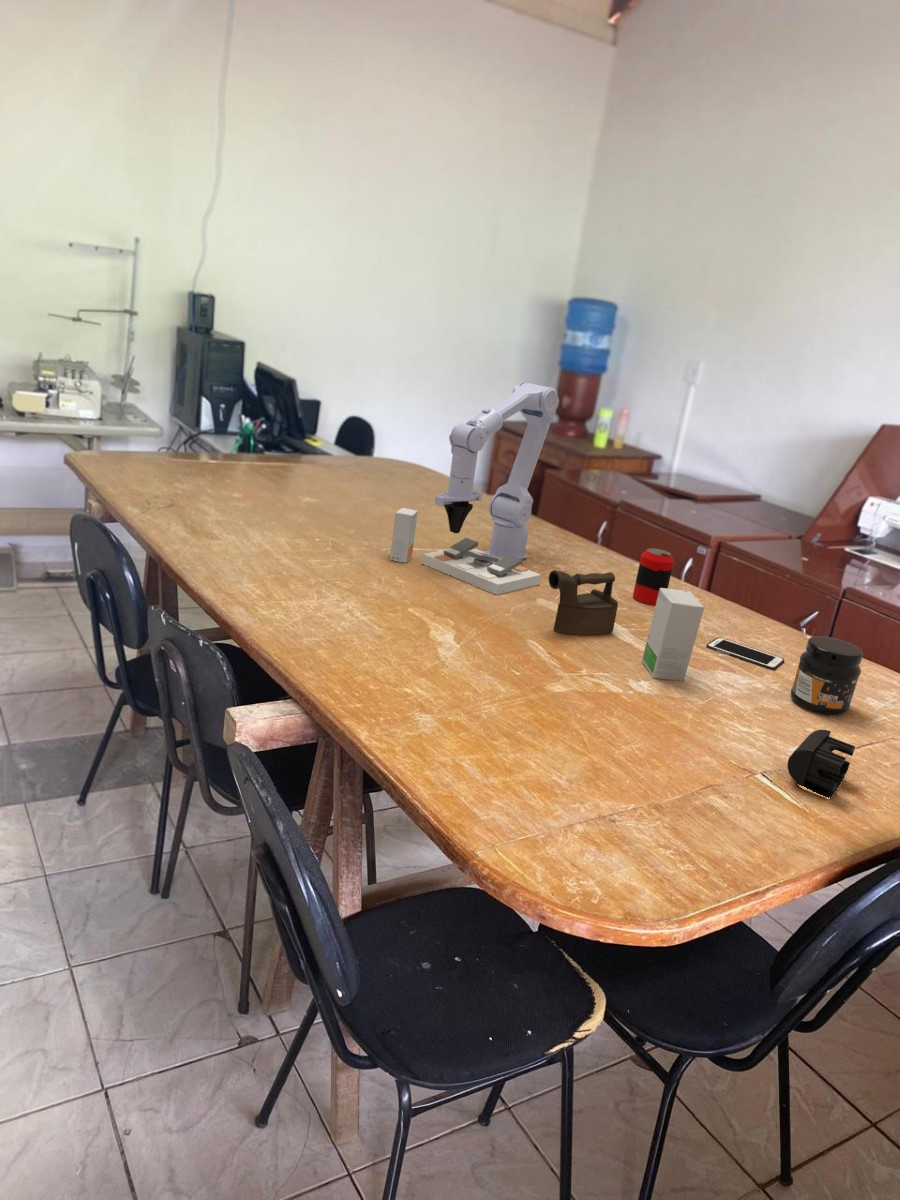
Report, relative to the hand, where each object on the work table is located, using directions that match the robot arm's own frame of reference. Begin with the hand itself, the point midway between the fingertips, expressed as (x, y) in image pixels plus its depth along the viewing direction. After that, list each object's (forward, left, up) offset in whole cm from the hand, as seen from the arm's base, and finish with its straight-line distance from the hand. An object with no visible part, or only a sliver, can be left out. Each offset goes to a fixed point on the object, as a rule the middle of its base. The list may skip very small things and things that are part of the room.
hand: (454, 532), depth 213 cm
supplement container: (-6, +89, -9) cm, 90 cm away
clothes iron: (+5, +41, -9) cm, 42 cm away
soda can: (-28, +39, -9) cm, 49 cm away
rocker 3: (-3, +14, -5) cm, 15 cm away
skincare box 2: (+8, +64, -9) cm, 65 cm away
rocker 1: (-3, 0, -5) cm, 6 cm away
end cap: (+24, +100, -9) cm, 103 cm away
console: (-3, +7, -9) cm, 12 cm away
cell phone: (-17, +69, -10) cm, 72 cm away
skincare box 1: (+7, -10, -9) cm, 15 cm away
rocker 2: (-3, +7, -5) cm, 9 cm away
